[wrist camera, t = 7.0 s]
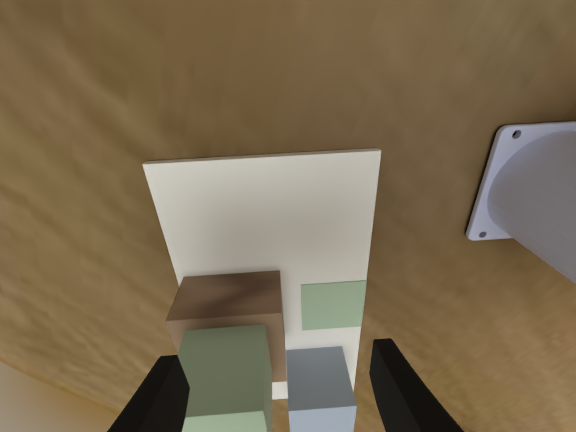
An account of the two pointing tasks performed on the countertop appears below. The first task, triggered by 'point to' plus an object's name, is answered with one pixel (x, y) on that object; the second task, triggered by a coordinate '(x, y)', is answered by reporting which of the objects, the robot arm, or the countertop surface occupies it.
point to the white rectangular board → (278, 233)
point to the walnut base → (232, 309)
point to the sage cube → (227, 379)
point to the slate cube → (319, 390)
